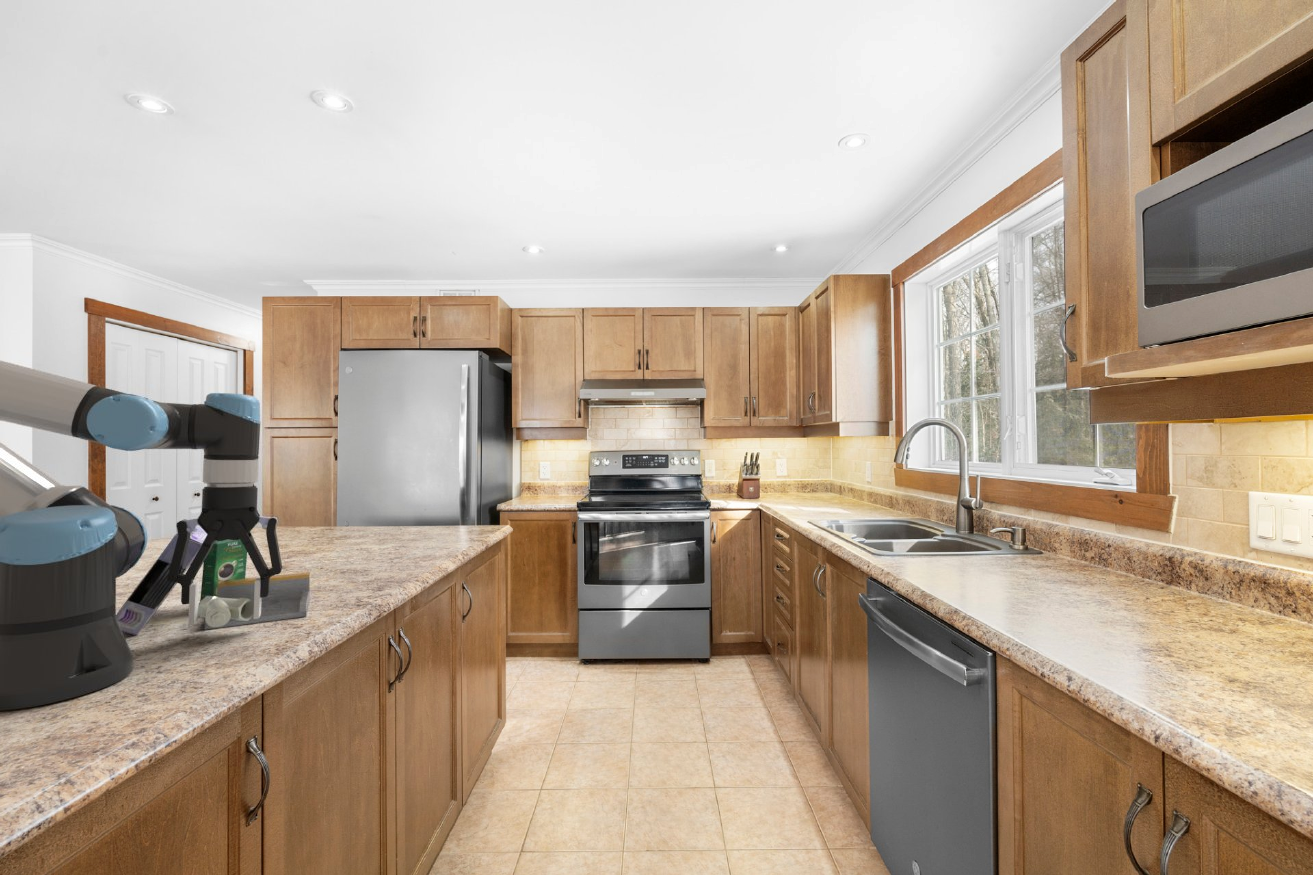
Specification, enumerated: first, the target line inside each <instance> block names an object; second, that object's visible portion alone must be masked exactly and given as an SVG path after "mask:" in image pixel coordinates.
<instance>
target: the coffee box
mask: <svg viewBox="0 0 1313 875" xmlns="http://www.w3.org/2000/svg"><path fill="white" fill-rule="evenodd" d="M247 560H248V552H247V550H246V549H245V547H244V545H243V544H242V542H241V540H229V539H227V540H223V541H216V542H215V543H214V545H213V546H212V548H211V550H210V552H209V553H208V555H207V557H206V559H205V560H204V562H203V564H202V576H201V585H200V586H201V587H200V588H201V589H200V597H199V600H200V601H199V603H200V602H201V600H203V599H204V598H205V597H206V596H215V597H217V583H218V582H219V581H225V580H236V579H246V575H247V574H246V573H247V572H246V571H247Z"/></svg>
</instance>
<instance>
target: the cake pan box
mask: <svg viewBox="0 0 1313 875" xmlns="http://www.w3.org/2000/svg"><path fill="white" fill-rule="evenodd" d="M207 535H208V534H207V533H206V532H205V531H204V530H203V529H202V528H201V527H200V526H199V525H197V526H196V527H195V530H194V531H193V532H191V536H190V540H189V544H188V548H187V552H186V556H185V560H184V563H183V567H182V571H181V574H186V572H187V570H188V568H189V567H190V565H191V563H192V561H193V560H194V558H195V556H196V554H197V553H198V551H199V549H200V547H201V546H202V543H203V541H204V540H205V538H206V536H207ZM177 539H178V532H177V533H175V535H174V536H173V538H171V540H170V541H169V542H168V544H167V546H166V547H165V548H164V549H163V551H162V552H161V554H160V555H159V556H158V558H157V559H156V560H155V562H154V563H153V565H151V567H150V569H149V570H148V571H147V573H146V574H145V575H144V576H143V578H142V579H141V580H140V582H139V583H138V584H137V586H136V587H135V589H134V590H133V591H132V592H131V594H130V595H129V597H127V599H126V600H125V602H124V604H122V606H121V608H120V609H119V610H118V612H116V620H117V622H118V624H119V626H120V628H121V630H122V632H124V633H126V634H130V635H133V636H138V635H139V633H140V632H141V631H142V629H144V627H145V626H146V624H147V623H148V621H149V620H151V618H152V617H153V615H154V614H155V613H156V612H157V611H158V609H159V608H160V607H161V605H162V604H164V602H165V600H166V599H167V597H169V595H170V593H171V592H172V591H173V590H174V588H175V587H176V586H177V584H178V583H176V582H169V581H168V580H167V577H168V573H169V569H170V565H171V562H172V558H173V554H174V550H175V546H176V542H177Z"/></svg>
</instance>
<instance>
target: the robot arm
mask: <svg viewBox="0 0 1313 875" xmlns="http://www.w3.org/2000/svg"><path fill="white" fill-rule="evenodd" d="M260 405H261V403H260V400H259V399H258V398H256V397H255V396H253V395H251V394H250V395H249V394H241V393H231V392H230V393H227V392H226V393H221V392H211V393H209V394H207V395H206V397H205V401H203V403H198V404H188V403H177V402H175V403H174V402H172V403H171V402H160V401H156V400H152V399H151V398H147V397H146V396H145V397H144V396H140V395H137V394H133V393H126V392H123V391H120V390H119V391H118V390H115V389H110V388H106V387H103V386H102V387H101V386H98V385H95V384H93V383H88V382H84V381H80V380H76V379H73V378H69V377H66V376H60V375H58V374H57V375H56V374H54V373H50V372H46V371H42V370H39V369H38V370H37V369H35V368H31V367H27V366H24V365H19V364H15V363H11V362H8V361H3V360H0V421H1V422H6V423H9V424H15V425H19V426H22V427H28V428H33V429H37V430H42V431H45V432H50V433H55V434H60V435H63V436H69V437H73V438H78V439H80V440H85V441H89V442H93V443H98V444H101V445H103V446H106V447H108V448H111V449H115V450H121V451H125V452H133V451H134V452H137V451H140V450H203V464H202V465H203V468H202V483H204V484H206V486H204V487H203V488H202V490H201V492H202V494H201V512H200V514H199V516H198V517H197V518H193V519H192V518H191V519H185V518H184V519H182V520H179V521H177V522H176V526H175V527H176V532H177V533H178V539H177V542H176V546H175V550H174V554H173V558H172V562H171V565H170V569H169V573H168V577H167V580H168V581H169V582H176V583H177V584H179V585H180V586H181V593H180V595H181V596H180V602H181V604H182V605H188V621H187V622H188V623H187V624H188V625H187V626H194V625H196V623H198V621H199V616H198V604H199V603H200V601H199V600H200V581H194V580H195V578H196V576H197V574H198V572H199V571H200V569H201V567H203V563H204V560H205V559H206V557H207V555H208V553H209V552H210V550H211V548H212V546H213V545H214V543H215V542H216V541H223V540H227V539H229V540H241V542H242V544H243V545H244V547H245V549H246V550H247V555H248V556H249V558H250V560H251V562H252V564H253V566H254V568H255V569H256V570H255V571H256V572H257V575H258V576H257V578H256V577H255V578H256V580H255V589H254V618H253V619H259V617H260V615H261V598H262V597H267V596H268V594H269V583H270V577H271V576H276V575H280V574H281V572H282V570H283V563H282V558H281V554H280V553H281V552H280V551H281V550H280V548H279V541H278V535H277V526H278V522H279V518H278V517H277V516H272V517H270V516H263V515H262V516H261V515H260V514H259V510H258V491H259V490H258V487H257V486H256V485H255V483H257V482H259V453H260V435H261V406H260ZM259 523H260V524H261V528H262V529H263V530H265V531H266V532H265V535H266V541H267V546H268V552H269V553H268V554H269V559H270V565H271V567H270V568H269V567H268V565H267V563H266V561H265V559H264V557H263V556H262V554H261V551H260V549H259V547H258V545H257V543H256V542H255V539H254V537H253V534H252V532H251V531H252V530H253V529H254V528H255V527H256V526H257V524H259ZM197 525H199V526H200V527H201V528H202V529H203V530H204V531H205V532H206V533H207V534H208V535H207V536H206V538H205V540H204V541H203V543H202V546H201V547H200V549H199V551H198V553H197V554H196V556H195V558H194V560H193V561H192V563H191V565H190V566H189V567H188V569H187V570H186V572H185V573H184V574H181V571H182V567H183V563H184V560H185V556H186V552H187V548H188V544H189V540H190V536H191V532H193V531H194V530H195V527H196V526H197ZM147 545H148V532H147V528H146V526H145V524H144V523H143V521H142V520H141V519H140V518H139V517H138V516H137V515H136V514H135V513H134V512H132V511H130V510H129V509H125V508H123V507H120V506H117V505H113V504H109V503H107V502H106V501H105V500H104V499H102V498H100V497H99V496H98V495H96V494H95V493H93V492H92V491H90V490H89V489H87V488H86V487H85V486H83V485H63V484H60V483H59V482H58V481H56V480H55V479H53V478H52V477H50V476H49V475H47V474H46V473H45V472H43V471H42V470H40V469H39V468H38V467H37V466H36V465H35V466H34V465H33V464H32V463H31V462H29V461H27V460H26V459H25V458H24V457H22V456H20V455H19V454H18V453H16V452H15V451H14V450H12V449H11V448H9V447H8V446H7V445H5V444H4V443H2V442H1V441H0V712H4V711H12V710H13V711H14V710H21V709H26V708H28V709H29V708H32V707H38V706H43V705H48V704H52V703H58V702H62V701H65V700H69V699H73V698H76V697H80V696H83V695H86V694H90V693H93V692H95V691H99V690H102V689H104V688H106V687H109V686H112V685H113V684H115V683H118V682H120V681H121V680H123V679H126V677H128V676H129V675H131V673H132V672H133V670H134V666H133V665H134V662H133V661H134V660H133V652H132V649H131V648H130V645H129V643H128V641H127V639H126V637H125V635H124V633H123V631H122V630H121V628H120V626H119V624H118V622H117V620H116V614H117V612H116V610H117V609H116V606H117V604H116V603H117V578H120V577H121V576H123V575H125V574H127V573H128V572H129V571H130V570H131V569H132V568H134V567H135V565H137V563H138V562H139V560H140V559H141V557H142V556H143V554H144V552H145V551H146V549H147Z"/></svg>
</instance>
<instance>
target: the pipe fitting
mask: <svg viewBox="0 0 1313 875" xmlns="http://www.w3.org/2000/svg"><path fill="white" fill-rule="evenodd" d="M253 615H254V600H251V599H247V598H239V599H232V598H219V597H215V596H206V597H205V598H204V599H203V600H201V602H200V601H199V603H198V617H199V618H200V617H201V618H204V622H205V621H206V623H207V625H209V626H210V627H221V626H224V625H225V624H226V623H228V621H229V620H230V619H235V620H240V621H248V620H249V619H250V618H251V617H252V616H253Z"/></svg>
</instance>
